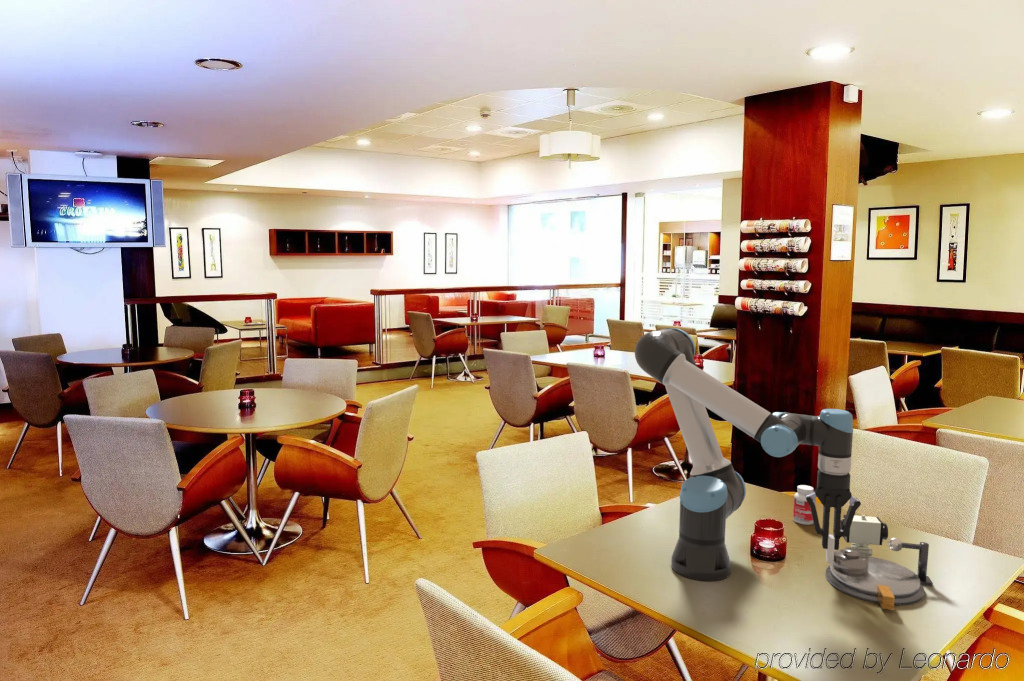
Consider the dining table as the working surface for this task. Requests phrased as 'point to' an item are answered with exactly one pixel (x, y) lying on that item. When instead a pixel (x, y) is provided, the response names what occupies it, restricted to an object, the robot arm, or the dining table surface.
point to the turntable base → (873, 598)
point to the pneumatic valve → (865, 533)
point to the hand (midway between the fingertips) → (829, 560)
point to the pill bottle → (802, 505)
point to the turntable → (882, 581)
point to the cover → (851, 562)
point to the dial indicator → (923, 549)
